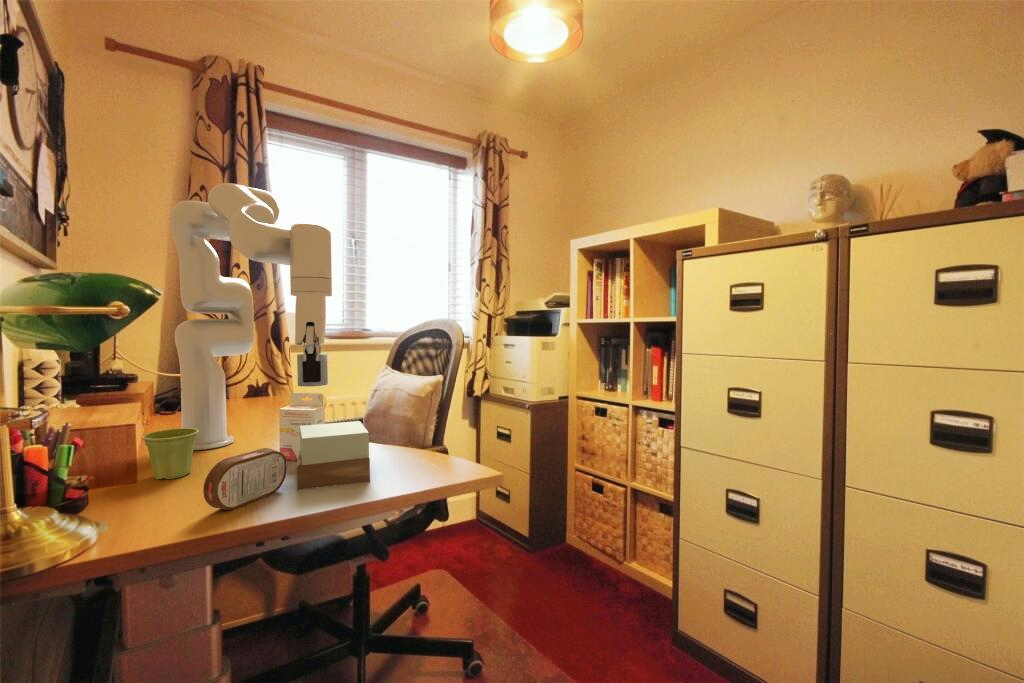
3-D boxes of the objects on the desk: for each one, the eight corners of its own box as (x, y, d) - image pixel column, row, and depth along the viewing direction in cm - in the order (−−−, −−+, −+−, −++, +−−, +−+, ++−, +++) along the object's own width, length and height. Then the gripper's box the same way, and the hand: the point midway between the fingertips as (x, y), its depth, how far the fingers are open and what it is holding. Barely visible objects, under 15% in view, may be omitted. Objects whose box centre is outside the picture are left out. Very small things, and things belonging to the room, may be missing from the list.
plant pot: (152, 486, 92) (151, 441, 92) (136, 476, 98) (134, 433, 97) (207, 474, 100) (206, 432, 99) (189, 465, 105) (188, 426, 105)
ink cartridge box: (278, 460, 109) (277, 395, 109) (290, 454, 114) (289, 392, 114) (315, 461, 109) (314, 396, 108) (325, 455, 114) (324, 392, 113)
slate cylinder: (299, 383, 98) (298, 353, 98) (328, 382, 100) (327, 353, 100) (296, 387, 93) (295, 355, 93) (327, 385, 95) (326, 354, 95)
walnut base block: (300, 471, 103) (300, 448, 103) (365, 465, 107) (364, 442, 107) (297, 492, 91) (296, 465, 90) (369, 484, 95) (369, 458, 95)
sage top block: (300, 449, 101) (299, 425, 101) (360, 443, 107) (359, 421, 106) (302, 465, 91) (302, 438, 90) (369, 457, 96) (368, 432, 95)
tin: (278, 486, 92) (277, 442, 92) (290, 488, 91) (290, 444, 91) (202, 516, 78) (200, 464, 78) (216, 518, 77) (214, 466, 77)
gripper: (295, 290, 103) (296, 376, 103) (285, 284, 86) (287, 386, 87) (333, 291, 105) (334, 375, 106) (330, 285, 89) (331, 384, 90)
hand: (313, 379), depth 96 cm, fingers closed on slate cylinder, 5 cm apart
